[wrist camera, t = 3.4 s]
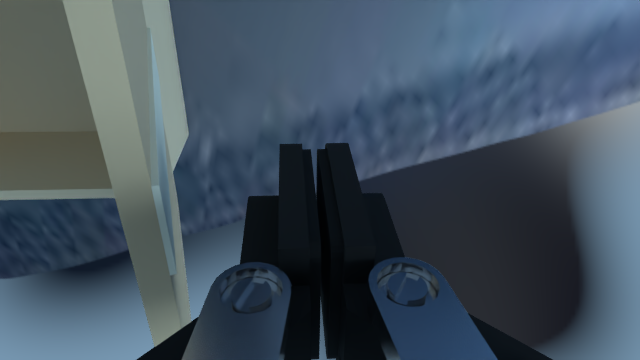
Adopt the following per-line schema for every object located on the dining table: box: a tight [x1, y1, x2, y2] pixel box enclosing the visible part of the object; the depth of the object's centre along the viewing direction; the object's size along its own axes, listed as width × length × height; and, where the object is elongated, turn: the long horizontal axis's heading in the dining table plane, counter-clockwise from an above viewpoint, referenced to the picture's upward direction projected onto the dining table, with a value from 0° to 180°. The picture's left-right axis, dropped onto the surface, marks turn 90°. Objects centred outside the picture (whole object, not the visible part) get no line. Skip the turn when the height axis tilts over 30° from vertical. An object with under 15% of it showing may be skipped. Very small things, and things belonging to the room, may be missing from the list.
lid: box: [63, 0, 191, 347], centre depth 15 cm, size 14×16×1 cm
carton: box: [0, 0, 189, 200], centre depth 24 cm, size 14×16×8 cm
